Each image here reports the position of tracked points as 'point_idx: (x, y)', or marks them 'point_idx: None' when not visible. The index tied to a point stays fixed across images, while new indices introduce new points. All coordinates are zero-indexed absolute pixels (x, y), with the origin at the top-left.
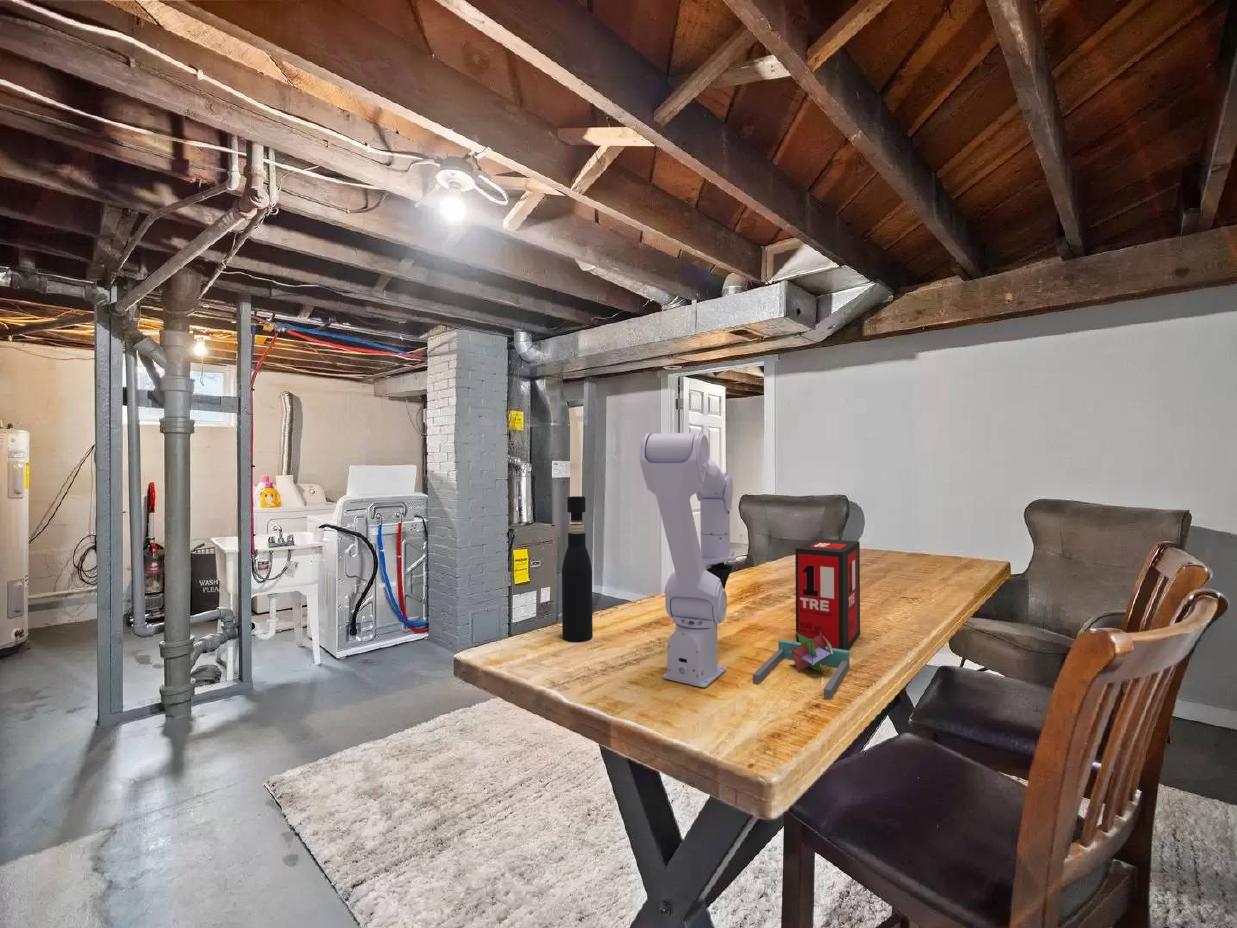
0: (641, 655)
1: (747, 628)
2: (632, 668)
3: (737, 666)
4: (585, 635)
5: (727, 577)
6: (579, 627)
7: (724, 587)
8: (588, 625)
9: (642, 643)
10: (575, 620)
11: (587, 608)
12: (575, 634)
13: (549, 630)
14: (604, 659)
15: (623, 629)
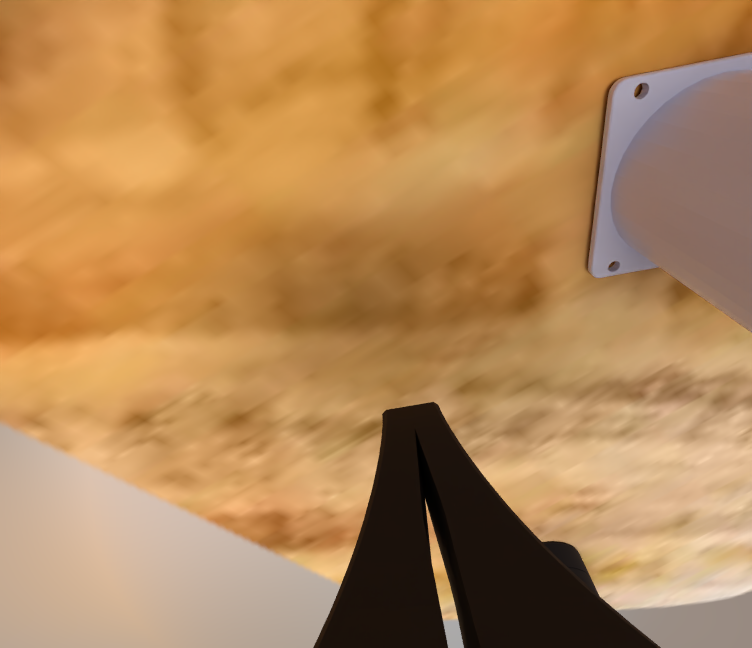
0: (589, 405)
1: (11, 329)
2: (714, 358)
3: (525, 67)
4: (562, 557)
5: (365, 609)
6: (588, 585)
7: (391, 500)
8: None
9: (485, 461)
10: None
11: None
12: (584, 569)
13: None
14: (668, 444)
15: None
